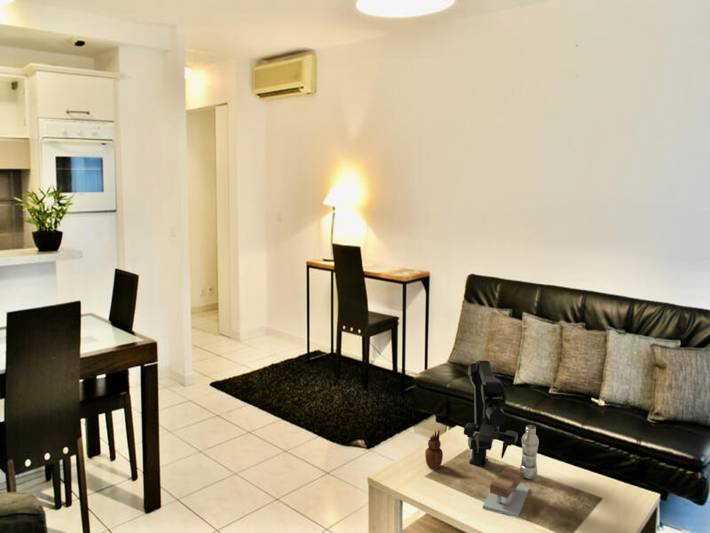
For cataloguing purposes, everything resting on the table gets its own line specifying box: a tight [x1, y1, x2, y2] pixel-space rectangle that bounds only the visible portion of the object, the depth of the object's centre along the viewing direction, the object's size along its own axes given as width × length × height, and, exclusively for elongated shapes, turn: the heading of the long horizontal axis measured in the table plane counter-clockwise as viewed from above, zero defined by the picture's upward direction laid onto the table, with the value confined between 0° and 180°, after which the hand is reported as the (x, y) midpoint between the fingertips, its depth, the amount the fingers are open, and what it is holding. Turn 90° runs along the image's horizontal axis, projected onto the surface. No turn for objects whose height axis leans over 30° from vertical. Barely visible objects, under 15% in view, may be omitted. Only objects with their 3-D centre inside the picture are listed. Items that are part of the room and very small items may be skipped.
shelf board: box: [489, 466, 524, 498], centre depth 202 cm, size 16×6×3 cm, turn 144°
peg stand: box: [482, 484, 530, 518], centre depth 202 cm, size 20×12×5 cm, turn 153°
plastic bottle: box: [519, 424, 540, 480], centre depth 217 cm, size 6×7×20 cm
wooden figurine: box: [425, 429, 444, 469], centre depth 225 cm, size 7×6×15 cm
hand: (489, 455), depth 210 cm, fingers open, 9 cm apart
